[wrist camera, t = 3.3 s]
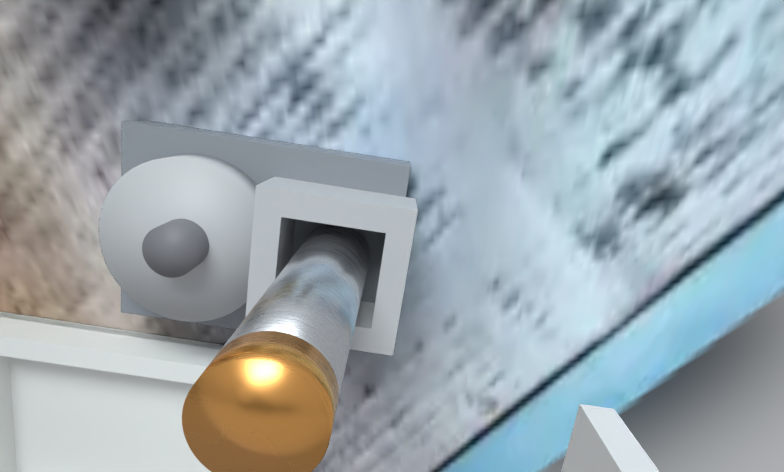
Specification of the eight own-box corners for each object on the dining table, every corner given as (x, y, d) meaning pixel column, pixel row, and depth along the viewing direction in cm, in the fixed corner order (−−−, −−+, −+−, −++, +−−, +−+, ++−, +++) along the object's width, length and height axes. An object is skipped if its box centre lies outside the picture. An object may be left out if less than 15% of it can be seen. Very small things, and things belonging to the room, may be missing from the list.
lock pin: (300, 280, 24) (179, 477, 11) (307, 217, 23) (184, 349, 10) (365, 290, 24) (321, 497, 11) (374, 228, 23) (339, 372, 10)
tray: (7, 488, 31) (-27, 520, 28) (-6, 310, 27) (-45, 329, 25) (275, 526, 31) (264, 561, 29) (294, 355, 28) (284, 378, 25)
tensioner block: (146, 294, 27) (80, 340, 21) (149, 120, 24) (75, 122, 19) (390, 331, 27) (387, 386, 22) (419, 163, 25) (423, 176, 19)
